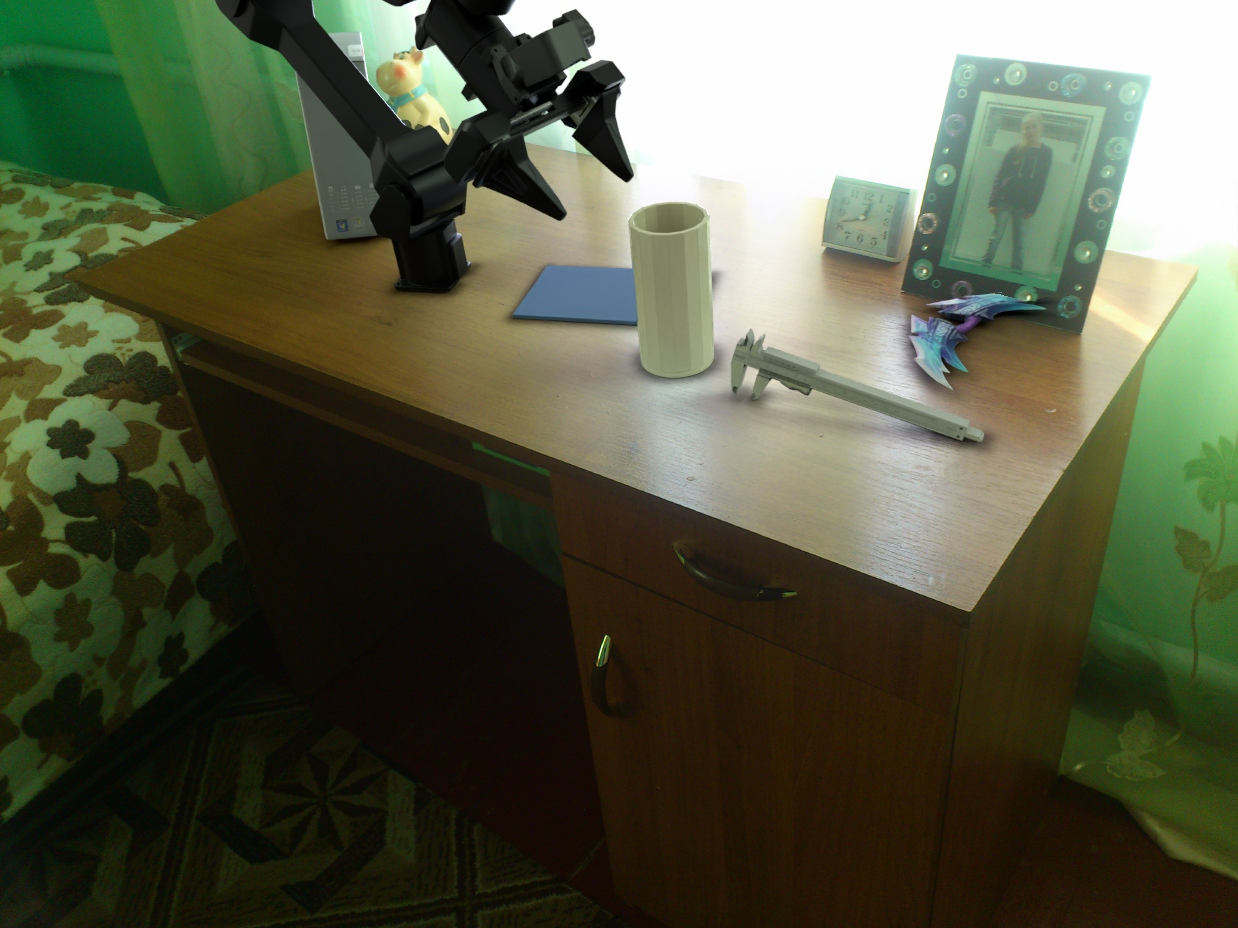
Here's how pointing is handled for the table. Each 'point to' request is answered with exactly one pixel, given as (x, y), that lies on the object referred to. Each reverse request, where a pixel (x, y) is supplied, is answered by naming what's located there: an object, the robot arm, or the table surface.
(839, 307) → the table surface
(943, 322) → the decorative blades
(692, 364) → the pen cup
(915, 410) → the caliper
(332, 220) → the hard drive box
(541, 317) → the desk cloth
